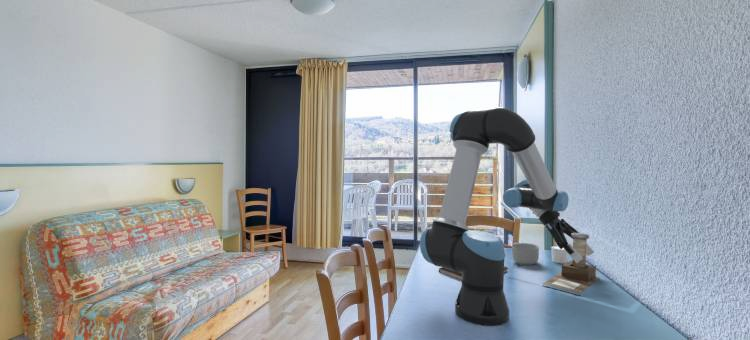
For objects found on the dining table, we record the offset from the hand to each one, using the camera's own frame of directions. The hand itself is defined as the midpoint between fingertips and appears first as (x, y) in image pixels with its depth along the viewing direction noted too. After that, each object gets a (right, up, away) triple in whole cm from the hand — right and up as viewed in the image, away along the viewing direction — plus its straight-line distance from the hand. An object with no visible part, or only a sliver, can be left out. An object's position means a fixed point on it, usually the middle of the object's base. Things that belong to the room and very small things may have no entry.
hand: (586, 257), depth 133 cm
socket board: (-7, -9, -3) cm, 11 cm away
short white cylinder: (+1, -8, +21) cm, 23 cm away
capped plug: (-2, -8, +2) cm, 8 cm away
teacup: (-15, -8, +22) cm, 27 cm away
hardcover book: (-40, -9, +9) cm, 42 cm away
